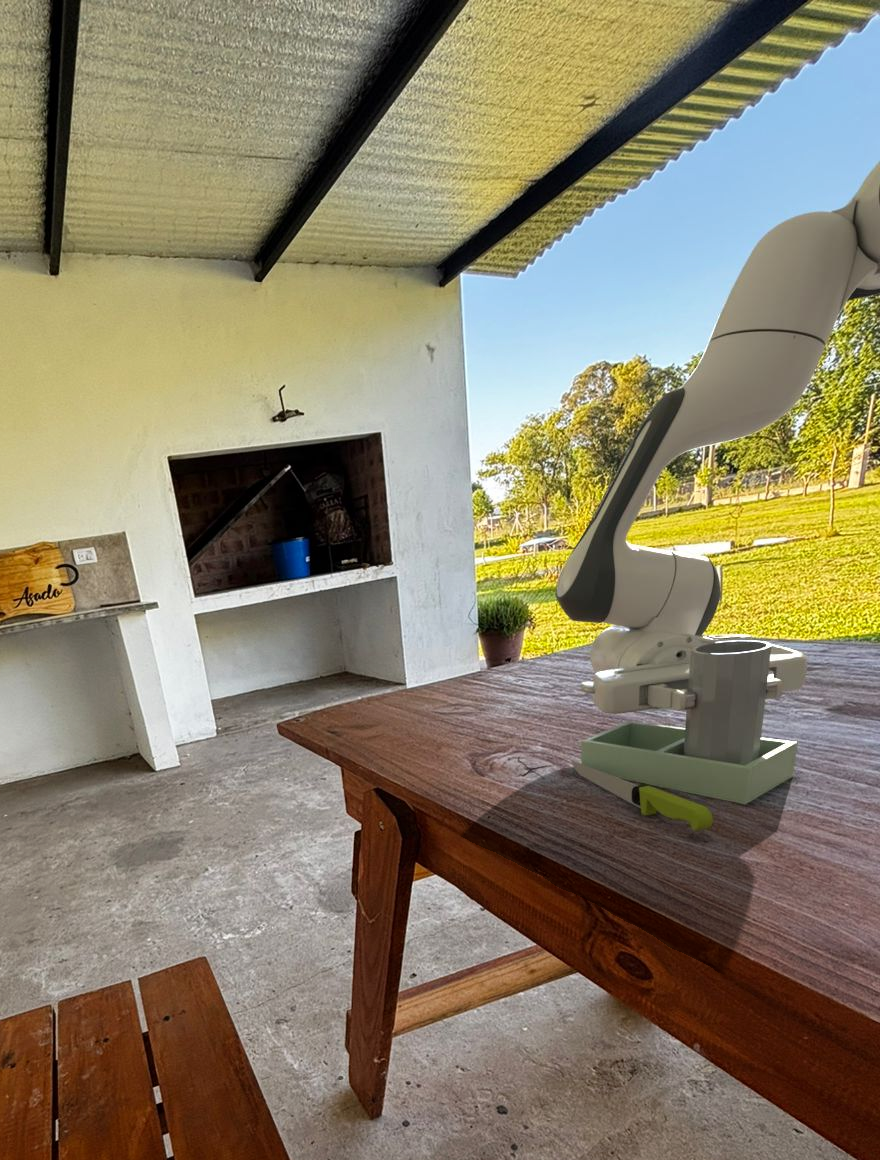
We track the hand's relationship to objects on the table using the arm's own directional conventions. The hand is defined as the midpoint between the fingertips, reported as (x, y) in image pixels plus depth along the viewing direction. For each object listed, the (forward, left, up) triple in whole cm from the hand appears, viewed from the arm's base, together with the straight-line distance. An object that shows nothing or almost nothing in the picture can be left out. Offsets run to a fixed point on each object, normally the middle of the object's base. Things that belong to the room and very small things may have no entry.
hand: (731, 696), depth 61 cm
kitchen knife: (+9, -5, -10) cm, 14 cm away
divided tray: (-1, -5, -10) cm, 11 cm away
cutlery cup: (0, -1, -7) cm, 7 cm away
